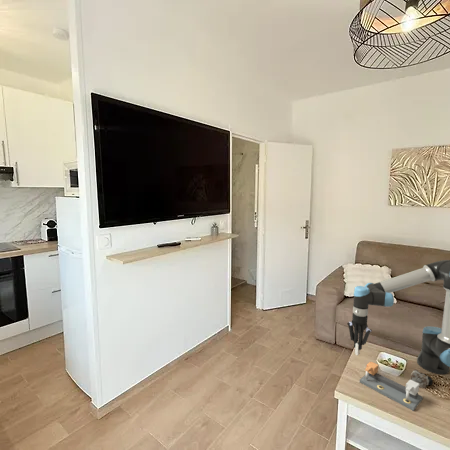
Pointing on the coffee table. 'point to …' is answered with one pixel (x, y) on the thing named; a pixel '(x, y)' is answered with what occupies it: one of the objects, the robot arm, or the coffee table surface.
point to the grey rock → (421, 378)
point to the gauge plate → (394, 390)
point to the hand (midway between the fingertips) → (357, 354)
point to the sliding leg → (371, 369)
